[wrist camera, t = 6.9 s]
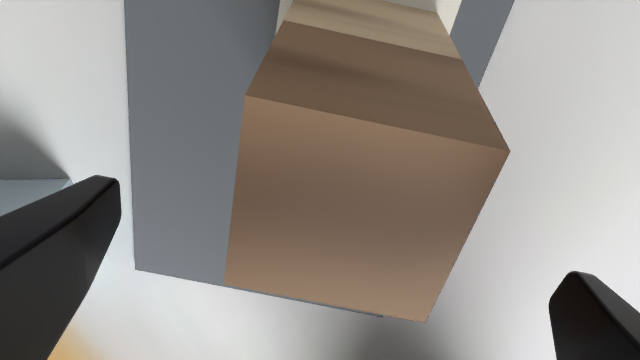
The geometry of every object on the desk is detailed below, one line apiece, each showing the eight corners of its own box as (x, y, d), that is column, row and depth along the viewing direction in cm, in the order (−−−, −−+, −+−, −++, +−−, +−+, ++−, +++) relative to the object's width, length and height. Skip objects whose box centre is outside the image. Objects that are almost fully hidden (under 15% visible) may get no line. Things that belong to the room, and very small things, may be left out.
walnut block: (407, 202, 16) (424, 323, 11) (261, 172, 15) (223, 284, 11) (461, 59, 13) (510, 150, 9) (283, 20, 13) (244, 95, 8)
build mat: (382, 311, 27) (382, 317, 26) (137, 264, 26) (134, 269, 26) (517, -18, 17) (521, -16, 16) (124, -109, 16) (119, -108, 16)
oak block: (397, 131, 20) (407, 201, 16) (282, 107, 19) (260, 171, 15) (437, 12, 17) (461, 59, 13) (302, -18, 17) (283, 19, 13)
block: (103, 253, 26) (54, 326, 22) (20, 252, 26) (-45, 324, 22) (71, 177, 23) (7, 245, 19) (-22, 179, 24) (-104, 245, 19)
